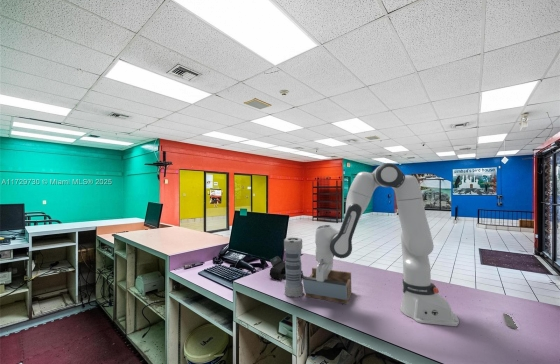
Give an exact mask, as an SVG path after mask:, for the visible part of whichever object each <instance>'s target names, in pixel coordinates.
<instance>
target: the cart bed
mask: <svg viewBox="0 0 560 364" xmlns="http://www.w3.org/2000/svg"><path fill="white" fill-rule="evenodd" d="M308 277H312V278H316V267H311V274H310V275H309V276H308ZM327 280H333V281H340V282H346V287H347V300H344V299H338V298H332V297H327V296H321V295H315V294H309V293H305V297H306V296H307V297H308V298H313V299H319V300H324V301H330V302H334V303H335V302H336V303H339V304H346V305H348V303H349V301H350V298H351V295H352V272H351V271H343V270H336V269H335V270H334V269H332V270H331V271H330V273H329V274H328V278H327Z"/></svg>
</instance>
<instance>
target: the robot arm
mask: <svg viewBox="0 0 560 364" xmlns="http://www.w3.org/2000/svg"><path fill="white" fill-rule="evenodd" d="M378 187H383V188H392V189H393V191H394V195H395V199H396V200H395V201H396V205H397V207H396V208H397V212H398V213H397V214H398V218H399V222H400V226H401V229H402V230H401V234H400V239H401V240H400V241H401V243H400V244H401V252H402V253H401V254H402V255H401V256H402V269H403V270H402V273H403V278H402V284H401V285H402V286H401V287H402V293H403V294H402V300H401V303H400V304H401V305H400V311H401V313H402V314H404V315H405V316H408V317H409V318H411V319H413V320H414V321H416V322H417V323H420V324H429V325H441V326H449V327H457V326H459V324H460V323H459V322H460V321H459V320H460V319H459V317H458V315H457V314H456V313H455V312H454V311H453V310H452V307H451V305H450V303H449V302H448V300H447V299H446V298H444V297H443V296H441V294H439V292H440V290H439V288H438V287H437V285H435V284H434V283H433V282H432V281H431V276H432V275H431V264H430V258H429V255H430V254H432V253H433V251H434V248H435V247H434V241H433V236H432V234H431V229H430V225H429V221H428V219H427V214H426V210H425V203H424V197H423V193H422V189H421V186H420V184H419V180H418V179H417V177H416V176H415V175H409V174H405V173H404V172H403V171H402V170H401V168H399V166H397V164H394V163H390V162H387V163H383V164H380V165H378V166H377V167H376V168H375V169H374V170H373V171H372V172H367V171H360V172H358V173H357V174H356V175H355V177H354V179H353V180H352V183H351V184H350V187H349V189H348V192H347V194H346V195H347V196H346V201H345V214H344V218H343V221H342V223H341V226H340V229H336V228H334V227H333V226H331V225H330V224H323V225H319V226H318V227H317V228H316V230H315V237H314V238H315V241H314V242H315V261H316V262H318V263H317V265H316V267H315V268H316V280H317V281H320V282H323V281H324V280H325V279H326V280H327V278H328V274H329V273H330V271H331V270H333V268H334V267H333V265H334V257H336V258H339V259H346V258H347V257H349V256H350V255H351V253H352V252H353V241H352V239H353V237H354V234H355V231H356V228H357V226H358V223H359V220H360V218H361V217H362V216H363V214H364V212H365V211H366V209H367V208H368V206H369V203H370V202H371V200H372V197H373V194H374V192H375V190H376V189H377V188H378Z"/></svg>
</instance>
